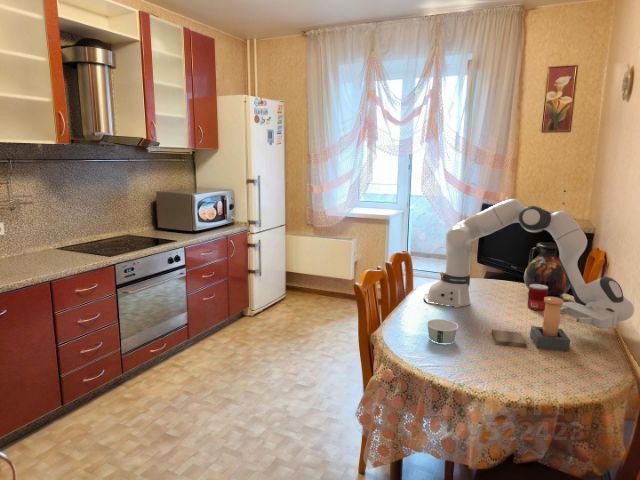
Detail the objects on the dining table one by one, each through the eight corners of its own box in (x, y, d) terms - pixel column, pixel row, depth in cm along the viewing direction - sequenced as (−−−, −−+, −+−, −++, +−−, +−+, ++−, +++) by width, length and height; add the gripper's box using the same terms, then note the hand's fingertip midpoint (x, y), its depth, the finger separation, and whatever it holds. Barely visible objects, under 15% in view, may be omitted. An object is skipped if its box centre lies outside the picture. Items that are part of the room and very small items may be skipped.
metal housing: (536, 348, 163) (537, 337, 162) (530, 336, 173) (531, 326, 173) (568, 351, 160) (570, 340, 159) (560, 339, 171) (561, 328, 170)
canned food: (548, 311, 203) (551, 288, 201) (531, 311, 203) (534, 288, 201) (541, 305, 210) (543, 283, 208) (524, 305, 211) (526, 283, 208)
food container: (459, 348, 163) (460, 331, 161) (426, 345, 165) (427, 329, 164) (455, 335, 174) (456, 320, 173) (425, 333, 177) (426, 317, 175)
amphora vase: (515, 297, 222) (520, 244, 217) (531, 289, 237) (536, 238, 232) (561, 308, 207) (567, 250, 202) (575, 298, 222) (581, 244, 217)
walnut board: (495, 344, 166) (495, 340, 166) (491, 333, 177) (491, 329, 176) (526, 347, 164) (526, 343, 163) (520, 335, 174) (520, 332, 174)
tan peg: (541, 346, 165) (546, 301, 161) (537, 339, 171) (542, 295, 167) (560, 348, 163) (565, 302, 160) (555, 341, 169) (560, 297, 166)
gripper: (575, 297, 181) (548, 299, 177) (621, 314, 161) (592, 317, 158) (573, 311, 182) (546, 314, 178) (619, 330, 163) (589, 333, 159)
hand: (568, 316), depth 168 cm, fingers open, 8 cm apart
